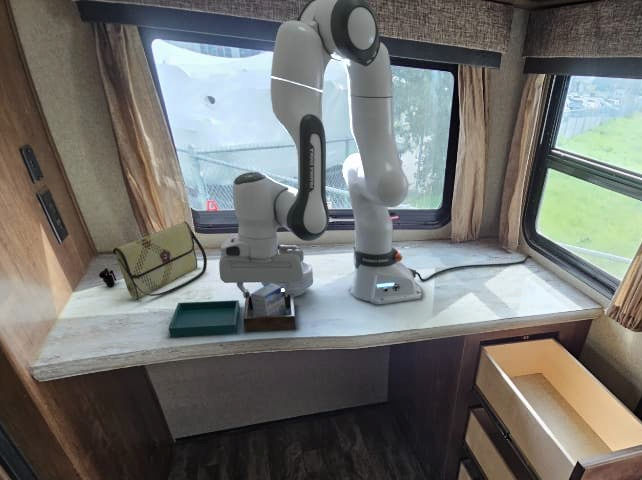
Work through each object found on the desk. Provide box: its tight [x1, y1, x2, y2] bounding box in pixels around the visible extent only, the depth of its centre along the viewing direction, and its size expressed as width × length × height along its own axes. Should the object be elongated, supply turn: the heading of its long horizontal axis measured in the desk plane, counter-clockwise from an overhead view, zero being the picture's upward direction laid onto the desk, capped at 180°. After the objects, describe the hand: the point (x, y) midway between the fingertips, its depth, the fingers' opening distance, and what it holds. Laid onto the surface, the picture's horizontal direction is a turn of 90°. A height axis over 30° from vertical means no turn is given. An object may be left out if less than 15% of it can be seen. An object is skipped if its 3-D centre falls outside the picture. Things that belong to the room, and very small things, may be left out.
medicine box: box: [250, 284, 287, 317], centre depth 116 cm, size 8×4×9 cm, turn 160°
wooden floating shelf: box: [242, 294, 297, 333], centre depth 118 cm, size 13×14×4 cm
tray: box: [168, 299, 241, 338], centre depth 114 cm, size 15×14×3 cm
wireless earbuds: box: [98, 268, 117, 288], centre depth 124 cm, size 7×2×5 cm, turn 14°
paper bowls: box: [260, 260, 314, 298], centre depth 131 cm, size 15×15×8 cm
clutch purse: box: [112, 221, 208, 301], centre depth 126 cm, size 30×7×15 cm, turn 167°
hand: (266, 296), depth 115 cm, fingers open, 8 cm apart
